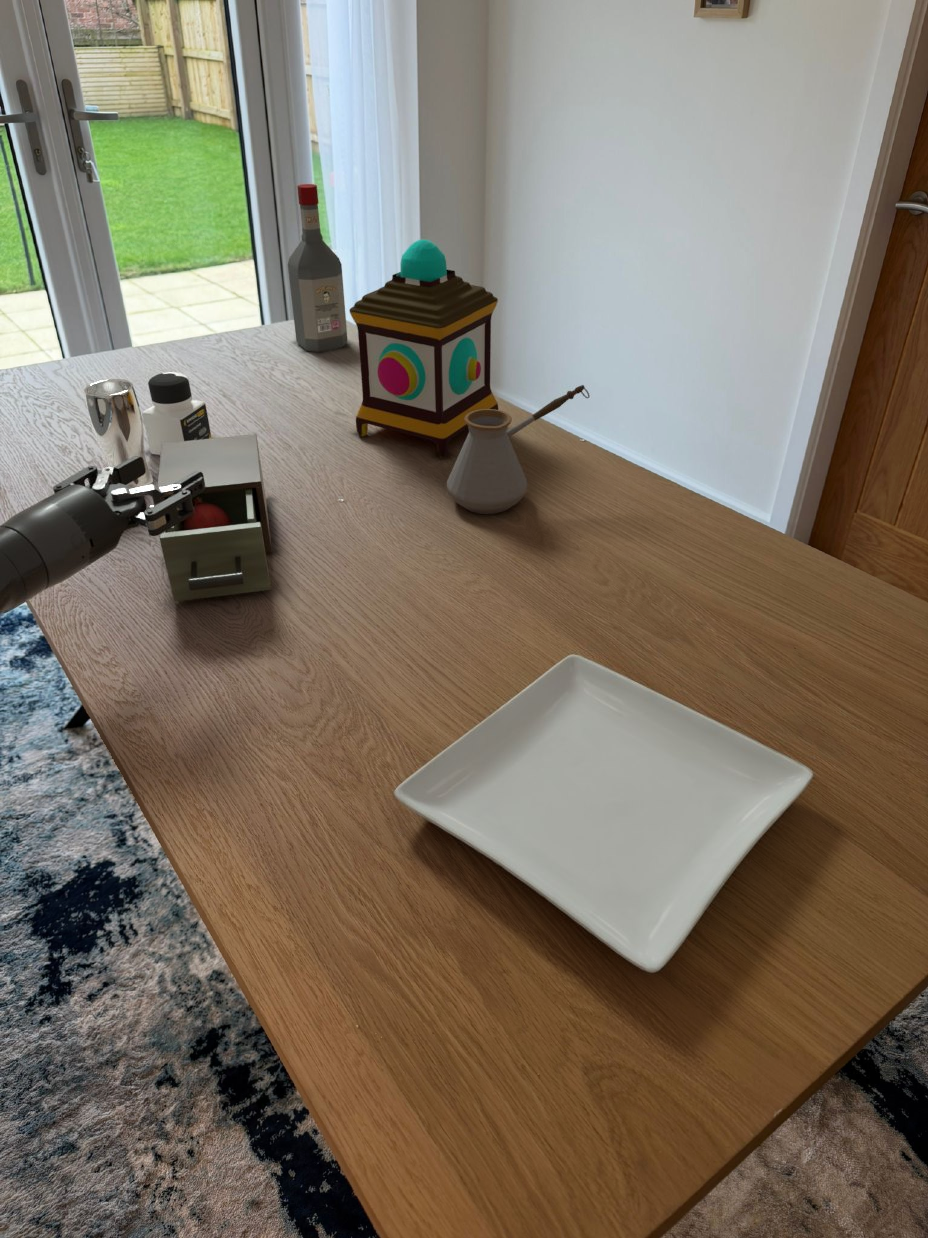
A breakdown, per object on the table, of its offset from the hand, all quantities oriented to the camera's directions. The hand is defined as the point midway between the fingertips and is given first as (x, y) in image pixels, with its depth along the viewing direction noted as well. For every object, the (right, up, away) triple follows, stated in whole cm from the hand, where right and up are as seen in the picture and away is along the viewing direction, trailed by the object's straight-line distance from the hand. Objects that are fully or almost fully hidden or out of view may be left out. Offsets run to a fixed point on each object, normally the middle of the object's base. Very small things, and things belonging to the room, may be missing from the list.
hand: (171, 471), depth 99 cm
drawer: (+2, -11, +12) cm, 17 cm away
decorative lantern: (+27, +15, +50) cm, 59 cm away
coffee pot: (+40, +2, +31) cm, 51 cm away
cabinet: (-1, -5, +23) cm, 23 cm away
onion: (+2, -8, +12) cm, 15 cm away
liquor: (+3, +40, +85) cm, 94 cm away
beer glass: (-17, +4, +35) cm, 39 cm away
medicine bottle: (-13, +11, +45) cm, 48 cm away
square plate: (+45, -34, -18) cm, 59 cm away
